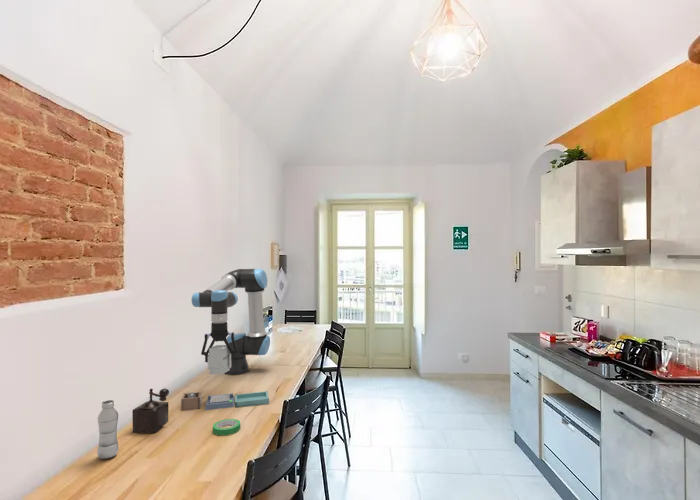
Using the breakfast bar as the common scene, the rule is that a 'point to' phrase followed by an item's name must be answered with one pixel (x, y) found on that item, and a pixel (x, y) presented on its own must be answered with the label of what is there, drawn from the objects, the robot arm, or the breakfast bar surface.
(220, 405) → the base
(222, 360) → the supplement box
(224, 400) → the checker plate
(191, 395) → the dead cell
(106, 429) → the plastic bottle
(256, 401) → the teal shallow tray
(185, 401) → the brown open box
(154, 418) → the manual coffee grinder
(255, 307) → the robot arm
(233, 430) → the tape roll
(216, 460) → the breakfast bar surface
